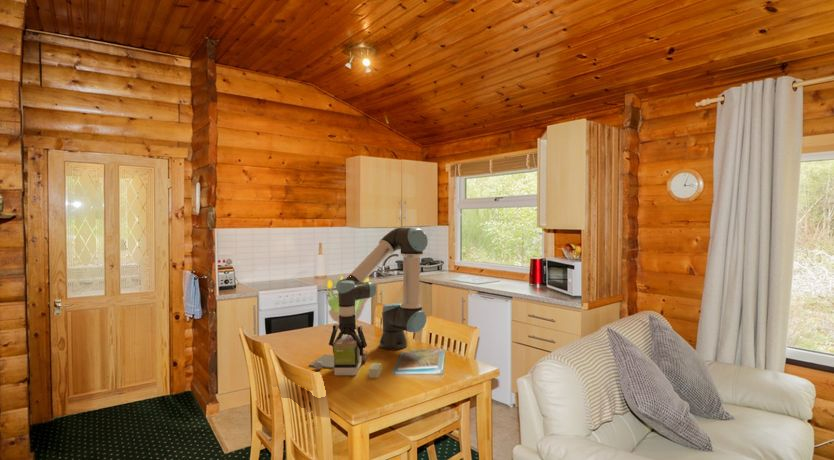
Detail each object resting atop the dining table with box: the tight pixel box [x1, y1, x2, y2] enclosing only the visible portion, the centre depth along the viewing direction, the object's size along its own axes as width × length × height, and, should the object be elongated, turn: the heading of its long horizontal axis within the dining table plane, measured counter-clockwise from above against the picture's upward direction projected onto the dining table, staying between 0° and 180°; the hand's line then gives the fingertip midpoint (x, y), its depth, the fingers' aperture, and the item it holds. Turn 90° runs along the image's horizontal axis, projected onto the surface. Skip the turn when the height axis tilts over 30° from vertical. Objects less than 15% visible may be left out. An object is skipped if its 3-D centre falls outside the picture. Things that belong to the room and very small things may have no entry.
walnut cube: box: [361, 349, 368, 365], centre depth 227 cm, size 5×5×5 cm
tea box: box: [332, 334, 362, 376], centre depth 214 cm, size 15×10×15 cm, turn 177°
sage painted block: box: [368, 362, 382, 379], centre depth 210 cm, size 4×8×4 cm, turn 173°
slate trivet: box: [308, 354, 334, 370], centre depth 227 cm, size 13×16×1 cm
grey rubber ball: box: [313, 361, 323, 370], centre depth 216 cm, size 4×4×4 cm
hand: (348, 361), depth 215 cm, fingers closed on tea box, 11 cm apart
